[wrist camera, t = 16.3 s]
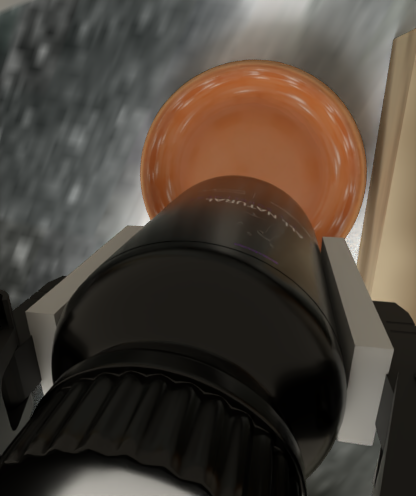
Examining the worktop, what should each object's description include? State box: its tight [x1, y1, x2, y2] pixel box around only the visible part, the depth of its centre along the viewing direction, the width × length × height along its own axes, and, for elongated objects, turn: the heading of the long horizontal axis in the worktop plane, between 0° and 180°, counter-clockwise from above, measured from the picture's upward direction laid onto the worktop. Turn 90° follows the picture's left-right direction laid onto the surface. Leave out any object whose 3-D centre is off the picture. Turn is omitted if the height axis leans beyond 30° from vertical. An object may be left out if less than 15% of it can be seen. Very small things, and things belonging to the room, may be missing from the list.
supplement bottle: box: [0, 175, 347, 496], centre depth 10 cm, size 7×7×12 cm
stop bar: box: [357, 28, 416, 326], centre depth 25 cm, size 4×19×5 cm, turn 1°
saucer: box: [140, 60, 367, 253], centre depth 27 cm, size 16×16×3 cm
